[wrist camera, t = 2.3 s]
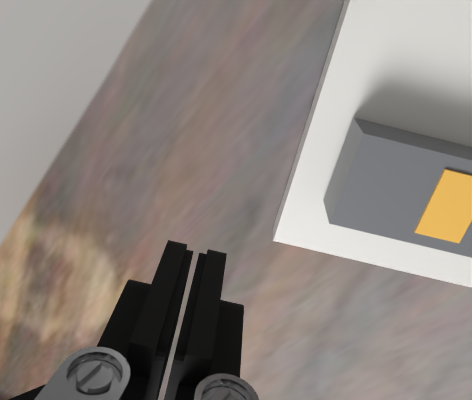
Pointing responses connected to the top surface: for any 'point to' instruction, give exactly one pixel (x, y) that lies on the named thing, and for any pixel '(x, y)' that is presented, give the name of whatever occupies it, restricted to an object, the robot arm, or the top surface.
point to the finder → (403, 187)
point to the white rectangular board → (383, 119)
